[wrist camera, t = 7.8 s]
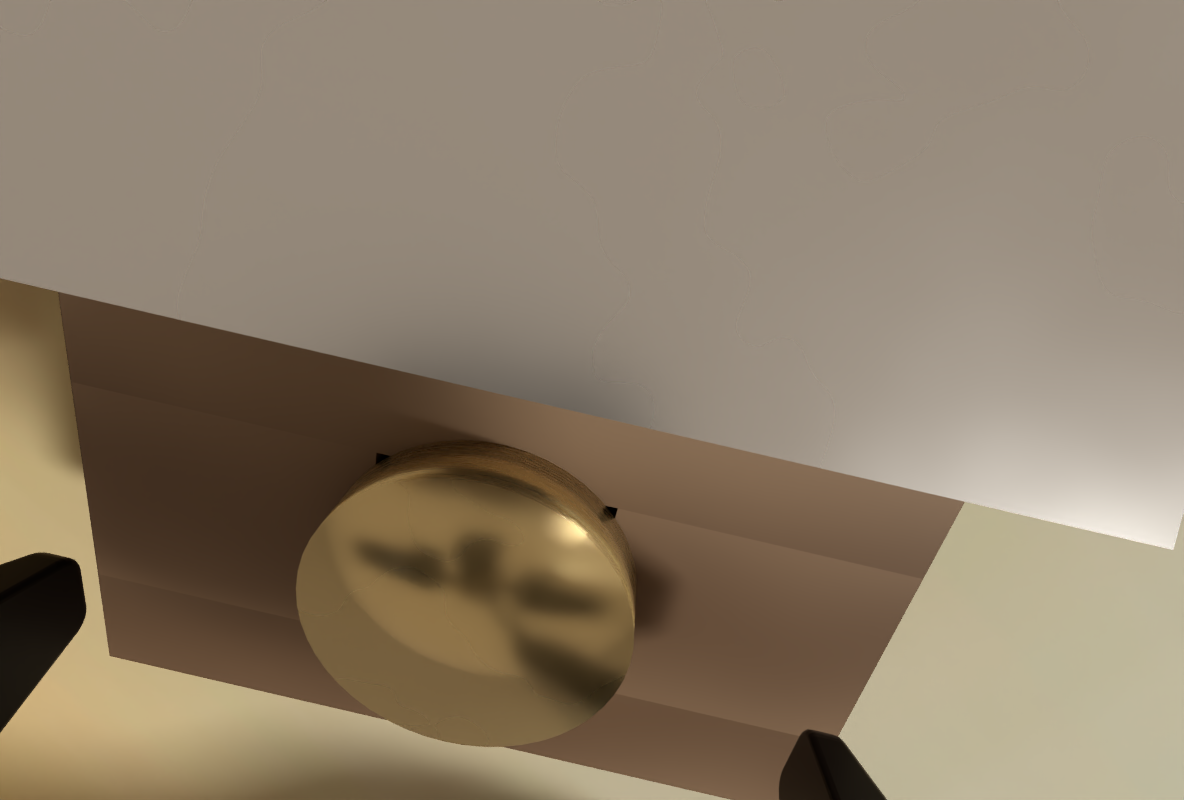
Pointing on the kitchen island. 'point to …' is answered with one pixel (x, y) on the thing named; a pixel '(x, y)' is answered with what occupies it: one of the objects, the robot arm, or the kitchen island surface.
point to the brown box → (563, 437)
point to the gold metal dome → (471, 595)
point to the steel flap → (656, 215)
